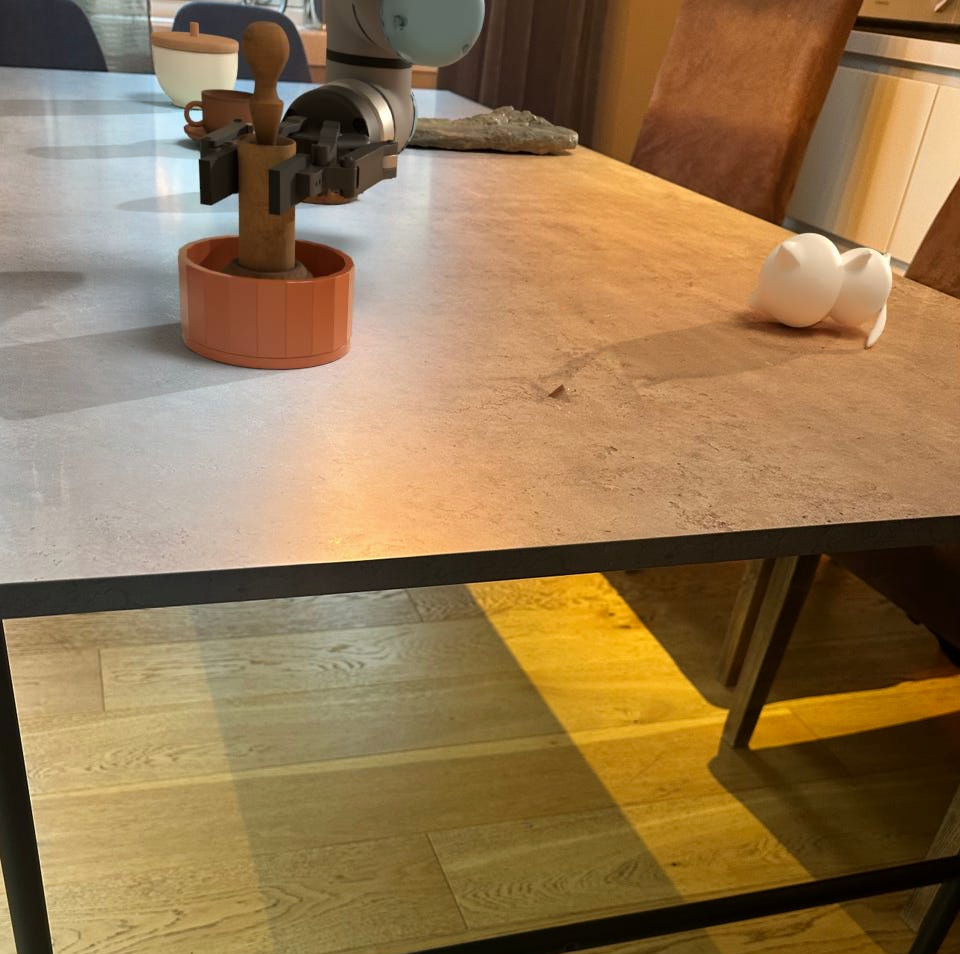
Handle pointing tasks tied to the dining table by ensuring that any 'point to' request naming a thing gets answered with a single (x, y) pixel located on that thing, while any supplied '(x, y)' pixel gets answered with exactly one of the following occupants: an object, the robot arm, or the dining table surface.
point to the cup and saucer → (217, 111)
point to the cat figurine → (823, 284)
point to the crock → (265, 307)
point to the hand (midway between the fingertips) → (239, 187)
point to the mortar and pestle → (264, 166)
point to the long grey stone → (495, 133)
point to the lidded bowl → (193, 63)
